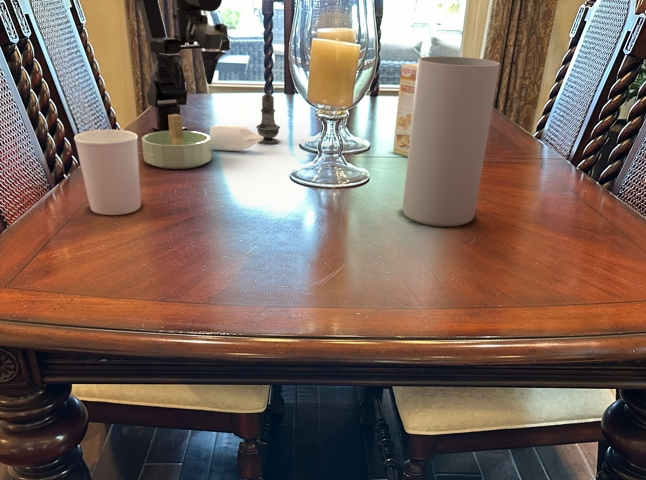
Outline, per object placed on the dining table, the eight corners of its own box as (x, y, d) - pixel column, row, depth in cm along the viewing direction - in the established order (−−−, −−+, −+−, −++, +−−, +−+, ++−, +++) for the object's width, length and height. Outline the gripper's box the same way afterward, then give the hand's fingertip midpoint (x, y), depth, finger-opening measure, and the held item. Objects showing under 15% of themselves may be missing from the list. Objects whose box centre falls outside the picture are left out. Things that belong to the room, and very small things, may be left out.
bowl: (130, 160, 131) (127, 136, 129) (183, 150, 141) (181, 127, 138) (172, 174, 124) (170, 149, 121) (224, 161, 133) (223, 138, 131)
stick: (171, 158, 132) (167, 115, 127) (179, 156, 133) (175, 113, 129) (177, 160, 131) (173, 116, 126) (184, 158, 132) (181, 115, 128)
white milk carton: (260, 155, 139) (260, 130, 136) (209, 152, 140) (208, 127, 137) (266, 149, 144) (265, 125, 141) (216, 146, 145) (215, 121, 142)
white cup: (156, 203, 108) (149, 133, 102) (123, 220, 100) (113, 145, 94) (109, 195, 110) (99, 127, 104) (73, 211, 102) (60, 138, 96)
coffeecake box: (413, 159, 141) (424, 67, 132) (391, 152, 146) (399, 64, 136) (454, 150, 150) (466, 64, 140) (431, 144, 155) (442, 60, 145)
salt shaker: (281, 139, 153) (281, 88, 147) (278, 145, 148) (278, 92, 142) (258, 138, 154) (257, 87, 148) (254, 143, 149) (253, 91, 143)
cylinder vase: (429, 232, 100) (451, 67, 87) (388, 209, 109) (402, 57, 97) (488, 222, 105) (517, 65, 92) (444, 201, 115) (464, 55, 102)
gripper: (178, 11, 122) (184, 94, 130) (246, 10, 135) (247, 86, 142) (144, 8, 128) (152, 87, 136) (212, 8, 141) (215, 80, 148)
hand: (194, 85), depth 141 cm, fingers open, 9 cm apart
